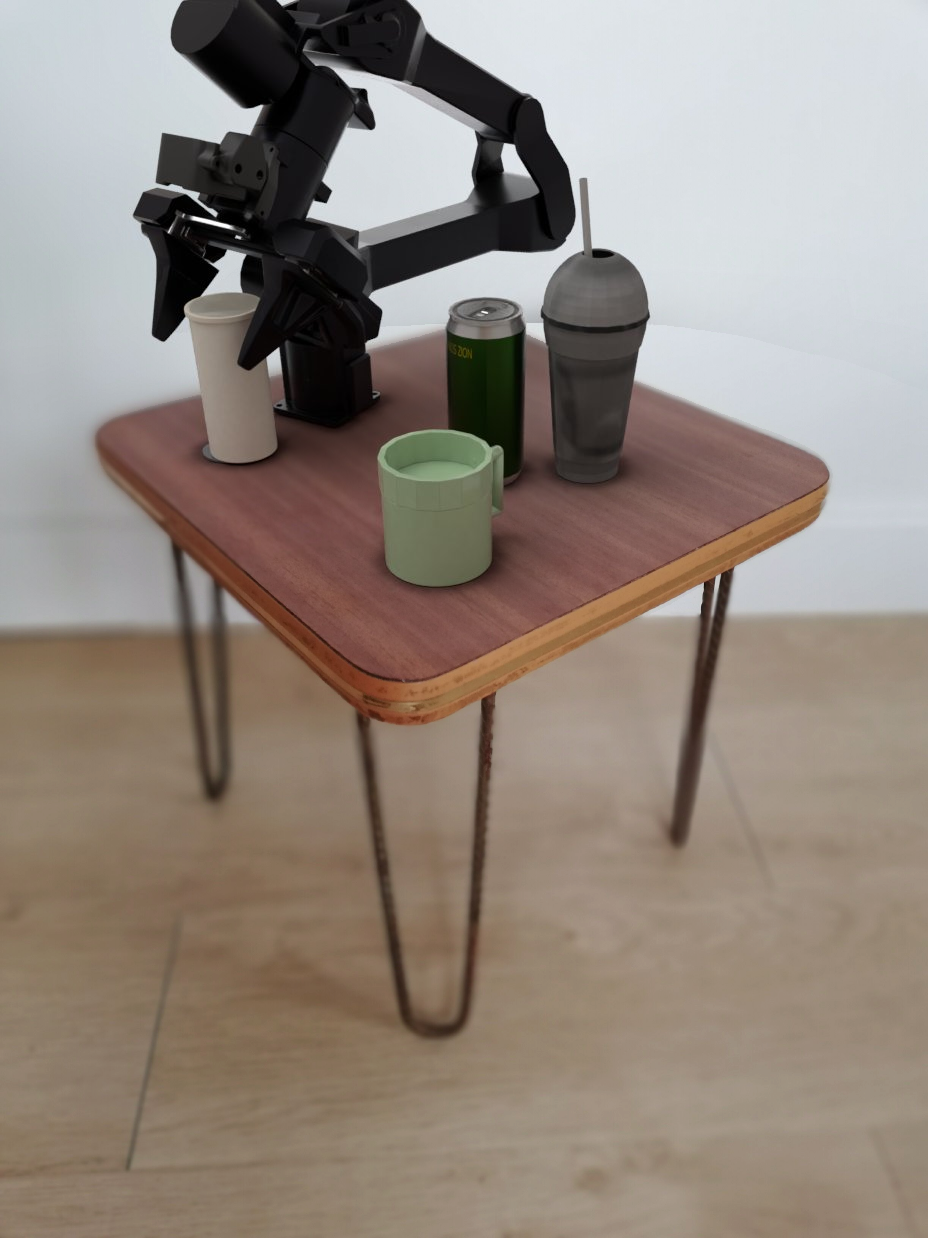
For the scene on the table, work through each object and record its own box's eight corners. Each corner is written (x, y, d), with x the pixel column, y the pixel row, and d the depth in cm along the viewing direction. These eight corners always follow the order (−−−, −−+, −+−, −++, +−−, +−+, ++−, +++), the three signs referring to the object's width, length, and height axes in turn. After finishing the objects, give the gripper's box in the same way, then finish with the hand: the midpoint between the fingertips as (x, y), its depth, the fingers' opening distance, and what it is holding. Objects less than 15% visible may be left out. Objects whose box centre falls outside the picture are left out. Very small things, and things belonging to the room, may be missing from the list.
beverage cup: (633, 496, 75) (658, 195, 64) (529, 487, 77) (535, 191, 65) (640, 450, 81) (664, 166, 70) (543, 442, 82) (551, 163, 71)
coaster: (191, 455, 82) (191, 453, 81) (226, 435, 84) (226, 432, 84) (233, 467, 80) (232, 464, 80) (267, 446, 83) (266, 443, 83)
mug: (428, 600, 65) (424, 492, 61) (364, 554, 70) (356, 451, 65) (536, 550, 70) (538, 447, 65) (468, 511, 74) (467, 411, 70)
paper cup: (216, 432, 84) (193, 292, 78) (285, 432, 84) (268, 291, 78) (200, 464, 80) (175, 318, 74) (273, 464, 80) (255, 317, 73)
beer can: (496, 497, 75) (496, 329, 69) (434, 477, 78) (428, 313, 71) (537, 467, 79) (542, 305, 72) (477, 449, 82) (475, 290, 75)
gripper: (123, 64, 74) (29, 272, 74) (315, 90, 64) (207, 329, 64) (231, 158, 84) (147, 343, 84) (413, 193, 74) (318, 402, 74)
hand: (198, 352), depth 76 cm, fingers open, 9 cm apart
